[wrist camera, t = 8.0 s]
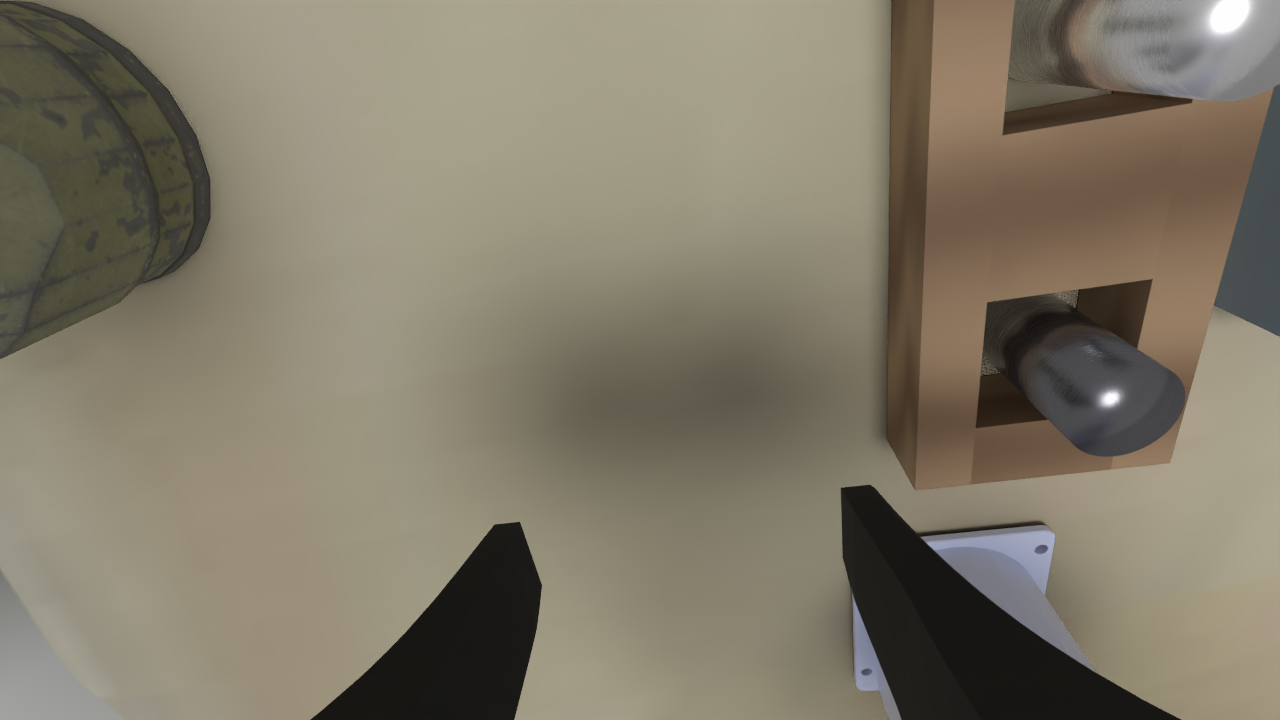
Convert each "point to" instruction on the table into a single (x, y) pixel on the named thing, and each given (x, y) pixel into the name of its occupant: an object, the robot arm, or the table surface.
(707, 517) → the table surface
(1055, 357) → the black pin
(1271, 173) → the socket block
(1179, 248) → the rack
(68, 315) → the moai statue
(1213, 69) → the steel pin
